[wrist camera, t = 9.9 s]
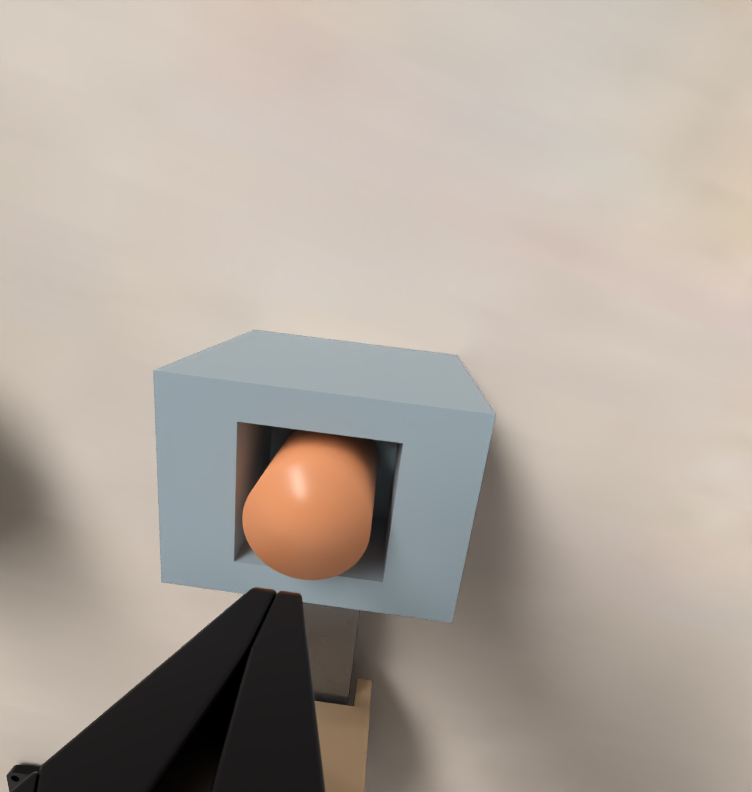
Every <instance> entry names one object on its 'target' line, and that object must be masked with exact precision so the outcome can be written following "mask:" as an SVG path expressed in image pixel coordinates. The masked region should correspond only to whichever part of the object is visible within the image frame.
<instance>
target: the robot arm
mask: <svg viewBox="0 0 752 792" xmlns="http://www.w3.org/2000/svg"><path fill="white" fill-rule="evenodd" d="M7 781H8V786H9V791H10V792H326V790H325V782H324V774H323V765H322V757H321V749H320V741H319V732H318V724H317V716H316V708H315V699H314V691H313V683H312V675H311V666H310V658H309V650H308V642H307V634H306V625H305V617H304V609H303V601H302V596H301V594H300V593H295V592H288V591H279V592H278V593H277V592H276V591H275V590H273V589H267V588H260V587H254V588H252V589H250V590H249V591H248V592H247V593H245V594H244V595H243V596H242V597H241V598H239V599H238V600H237V601H236V602H235V603H233V604H232V605H231V606H230V607H229V608H228V609H226V610H225V611H224V612H223V613H222V614H220V615H219V616H218V617H217V618H216V619H215V620H213V621H212V622H211V623H210V624H209V625H207V626H206V627H205V628H204V629H203V630H201V631H200V632H199V633H198V634H197V635H196V636H194V637H193V638H192V639H191V640H190V641H188V642H187V643H186V644H185V645H184V646H182V647H181V648H180V649H179V650H178V651H177V652H175V653H174V654H173V655H172V656H171V657H169V658H168V659H167V660H166V661H165V662H164V663H162V664H161V665H160V666H159V667H158V668H156V669H155V670H154V671H153V672H152V673H150V674H149V675H148V676H147V677H146V678H145V679H143V680H142V681H141V682H140V683H139V684H137V685H136V686H135V687H134V688H133V689H131V690H130V691H129V692H128V693H127V694H126V695H124V696H123V697H122V698H121V699H120V700H118V701H117V702H116V703H115V704H114V705H113V706H111V707H110V708H109V709H108V710H107V711H105V712H104V713H103V714H102V715H101V716H99V717H98V718H97V719H96V720H95V721H94V722H92V723H91V724H90V725H89V726H88V727H86V728H85V729H84V730H83V731H82V732H80V733H79V734H78V735H77V736H76V737H75V738H73V739H72V740H71V741H70V742H69V743H67V744H66V745H65V746H64V747H63V748H61V749H60V750H59V751H58V752H57V753H56V754H54V755H53V756H52V757H51V758H50V759H48V760H47V761H46V762H45V763H44V764H43V765H42V766H41V768H39V767H32V766H25V765H15V766H14V767H13V768H12V769H11V771H10V772H9V773H8V774H7Z"/></svg>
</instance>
